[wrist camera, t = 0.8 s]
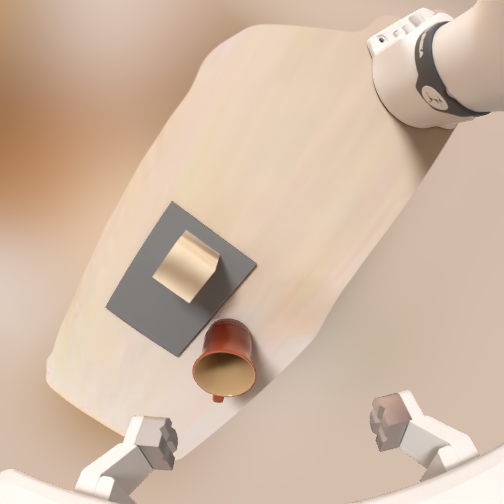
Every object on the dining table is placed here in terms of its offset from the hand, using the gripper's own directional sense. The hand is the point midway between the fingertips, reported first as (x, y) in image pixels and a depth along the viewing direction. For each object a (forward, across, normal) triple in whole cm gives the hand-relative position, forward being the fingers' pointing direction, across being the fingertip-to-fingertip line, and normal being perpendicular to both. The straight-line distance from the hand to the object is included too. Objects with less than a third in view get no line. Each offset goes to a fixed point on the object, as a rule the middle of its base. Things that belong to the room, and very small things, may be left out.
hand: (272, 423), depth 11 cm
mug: (+34, +7, +20) cm, 40 cm away
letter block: (+34, +10, +4) cm, 35 cm away
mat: (+34, +14, +9) cm, 38 cm away
